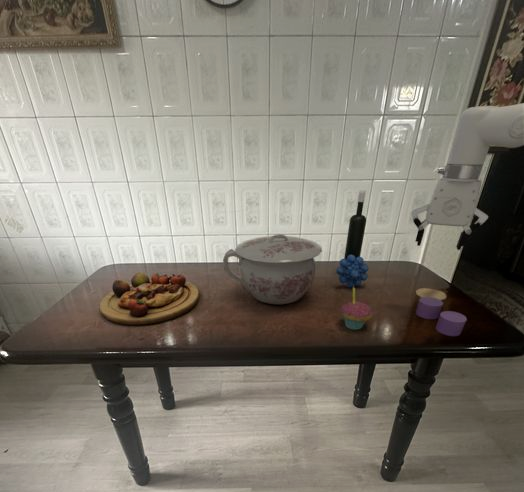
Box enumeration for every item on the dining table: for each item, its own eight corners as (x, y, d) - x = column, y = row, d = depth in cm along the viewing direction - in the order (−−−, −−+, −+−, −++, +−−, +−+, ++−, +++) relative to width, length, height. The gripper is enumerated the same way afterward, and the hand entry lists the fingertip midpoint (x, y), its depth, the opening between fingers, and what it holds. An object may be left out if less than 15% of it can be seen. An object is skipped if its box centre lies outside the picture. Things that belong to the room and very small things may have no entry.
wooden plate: (174, 332, 85) (168, 305, 81) (77, 321, 91) (67, 296, 87) (213, 287, 111) (211, 265, 106) (136, 281, 117) (130, 260, 112)
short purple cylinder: (461, 327, 85) (466, 314, 83) (460, 338, 81) (467, 324, 78) (436, 322, 88) (441, 309, 85) (434, 332, 83) (439, 318, 81)
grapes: (337, 292, 106) (341, 259, 99) (332, 285, 111) (336, 252, 105) (369, 291, 106) (376, 258, 100) (363, 284, 112) (369, 251, 105)
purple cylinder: (439, 312, 93) (443, 299, 91) (437, 321, 89) (442, 307, 86) (416, 308, 96) (420, 295, 93) (414, 316, 91) (418, 303, 89)
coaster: (446, 292, 105) (447, 291, 105) (445, 303, 98) (446, 302, 98) (417, 287, 109) (417, 286, 109) (414, 297, 102) (414, 296, 102)
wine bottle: (358, 277, 117) (373, 191, 100) (343, 277, 118) (355, 191, 100) (355, 272, 122) (369, 189, 105) (340, 272, 122) (352, 189, 105)
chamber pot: (331, 291, 107) (338, 230, 95) (290, 323, 88) (293, 253, 77) (266, 275, 120) (266, 220, 108) (220, 300, 102) (213, 237, 90)
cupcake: (336, 329, 85) (342, 290, 78) (341, 316, 92) (347, 278, 85) (367, 335, 82) (376, 295, 76) (371, 321, 89) (379, 283, 82)
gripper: (421, 173, 71) (403, 246, 81) (508, 175, 65) (476, 254, 75) (421, 171, 77) (404, 239, 87) (501, 173, 71) (472, 246, 81)
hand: (437, 246), depth 81 cm, fingers open, 9 cm apart
